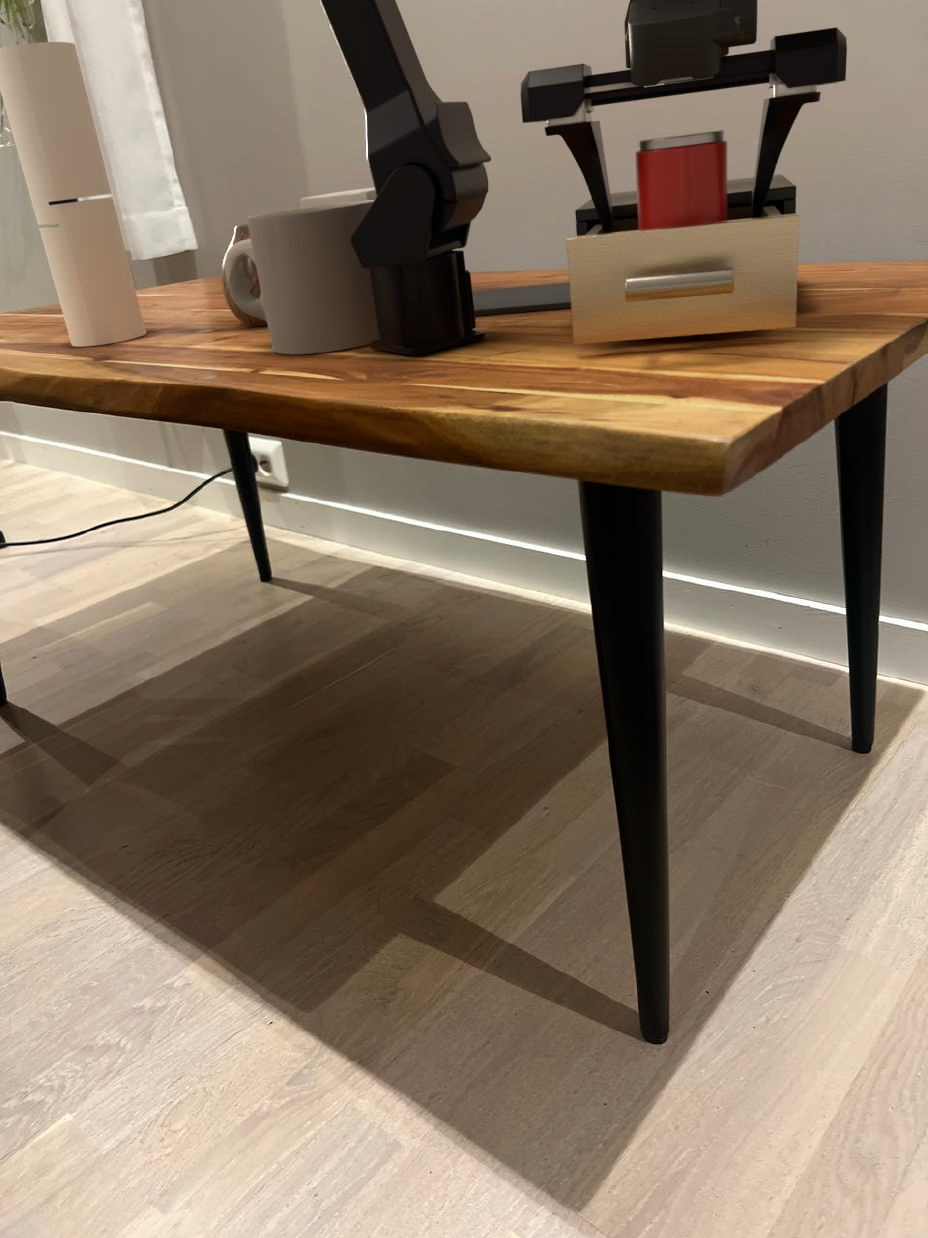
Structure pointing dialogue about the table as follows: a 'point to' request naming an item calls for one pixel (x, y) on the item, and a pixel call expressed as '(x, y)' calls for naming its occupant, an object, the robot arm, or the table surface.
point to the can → (681, 180)
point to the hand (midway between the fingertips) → (681, 230)
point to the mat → (522, 299)
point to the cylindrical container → (70, 191)
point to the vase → (250, 280)
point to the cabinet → (737, 195)
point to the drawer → (684, 277)
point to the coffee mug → (307, 278)
